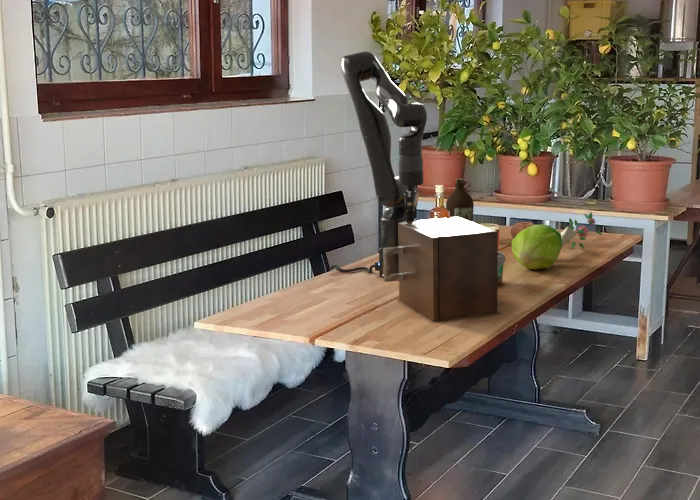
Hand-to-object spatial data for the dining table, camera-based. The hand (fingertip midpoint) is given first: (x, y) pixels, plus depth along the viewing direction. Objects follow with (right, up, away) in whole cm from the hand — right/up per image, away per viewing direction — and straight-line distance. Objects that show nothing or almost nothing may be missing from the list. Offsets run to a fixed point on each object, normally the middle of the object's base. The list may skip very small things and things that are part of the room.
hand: (412, 220), depth 291 cm
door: (-2, -27, -20) cm, 33 cm away
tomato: (+48, -6, +72) cm, 87 cm away
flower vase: (+61, -10, +51) cm, 80 cm away
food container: (+27, -20, +8) cm, 35 cm away
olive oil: (+23, -7, +73) cm, 77 cm away
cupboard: (+10, -26, -15) cm, 32 cm away
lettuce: (+44, -16, +27) cm, 54 cm away
